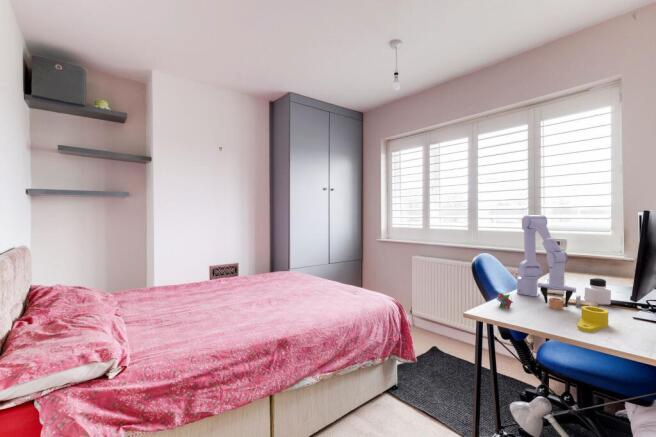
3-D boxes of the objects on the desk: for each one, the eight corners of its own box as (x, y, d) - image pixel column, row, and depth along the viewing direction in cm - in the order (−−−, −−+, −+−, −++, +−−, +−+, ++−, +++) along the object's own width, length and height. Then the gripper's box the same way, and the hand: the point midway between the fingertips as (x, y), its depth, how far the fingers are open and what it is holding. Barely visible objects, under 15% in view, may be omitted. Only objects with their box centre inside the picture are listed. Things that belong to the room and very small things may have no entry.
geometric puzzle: (519, 305, 142) (510, 289, 147) (509, 306, 140) (500, 290, 144) (508, 310, 148) (499, 294, 152) (498, 312, 145) (490, 296, 150)
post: (574, 307, 145) (574, 295, 145) (574, 305, 147) (574, 294, 147) (581, 308, 143) (582, 297, 143) (581, 307, 145) (582, 295, 145)
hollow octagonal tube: (548, 307, 144) (548, 299, 144) (549, 305, 148) (550, 297, 148) (562, 310, 141) (562, 301, 141) (563, 307, 145) (563, 299, 145)
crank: (584, 318, 131) (585, 304, 131) (610, 324, 125) (611, 310, 124) (569, 328, 121) (570, 313, 121) (597, 335, 114) (597, 319, 114)
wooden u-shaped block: (559, 305, 148) (559, 302, 148) (561, 299, 157) (561, 297, 157) (597, 311, 139) (597, 309, 139) (597, 305, 148) (597, 302, 148)
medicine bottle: (610, 304, 148) (611, 280, 148) (596, 304, 148) (596, 280, 148) (598, 300, 155) (598, 277, 155) (584, 300, 156) (584, 277, 155)
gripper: (537, 275, 146) (536, 303, 146) (575, 280, 136) (575, 310, 137) (539, 273, 151) (538, 300, 152) (576, 277, 142) (575, 306, 142)
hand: (556, 304), depth 145 cm, fingers open, 7 cm apart
